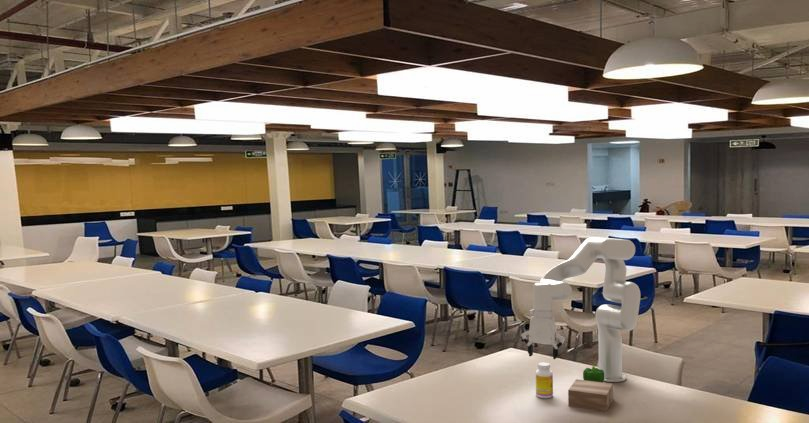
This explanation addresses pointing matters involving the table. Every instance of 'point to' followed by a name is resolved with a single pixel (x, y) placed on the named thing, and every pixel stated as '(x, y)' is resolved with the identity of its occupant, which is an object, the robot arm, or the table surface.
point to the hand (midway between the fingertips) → (542, 356)
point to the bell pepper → (593, 374)
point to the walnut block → (590, 394)
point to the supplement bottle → (544, 381)
